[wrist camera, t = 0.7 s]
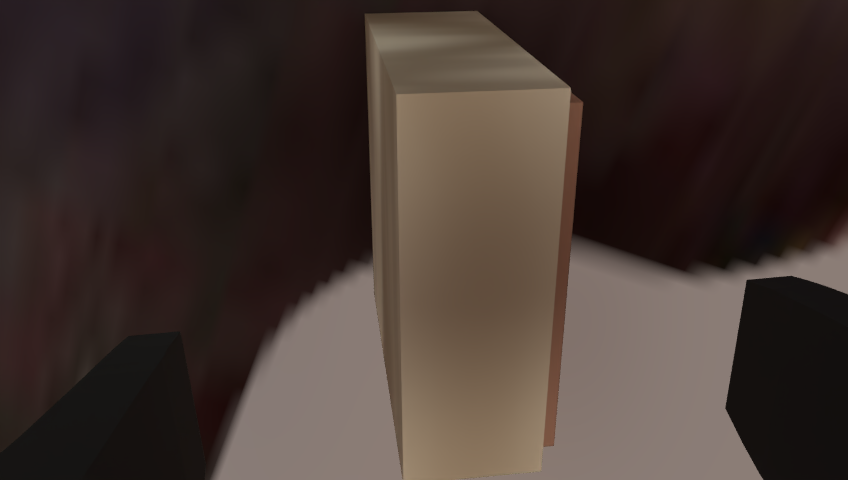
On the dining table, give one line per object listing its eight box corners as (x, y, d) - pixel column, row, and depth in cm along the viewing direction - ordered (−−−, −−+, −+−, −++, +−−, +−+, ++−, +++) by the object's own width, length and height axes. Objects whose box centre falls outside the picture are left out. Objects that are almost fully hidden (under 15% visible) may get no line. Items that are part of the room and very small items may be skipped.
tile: (490, 10, 17) (591, 87, 11) (481, 286, 20) (557, 469, 14) (364, 13, 17) (396, 94, 11) (374, 293, 20) (403, 484, 14)
